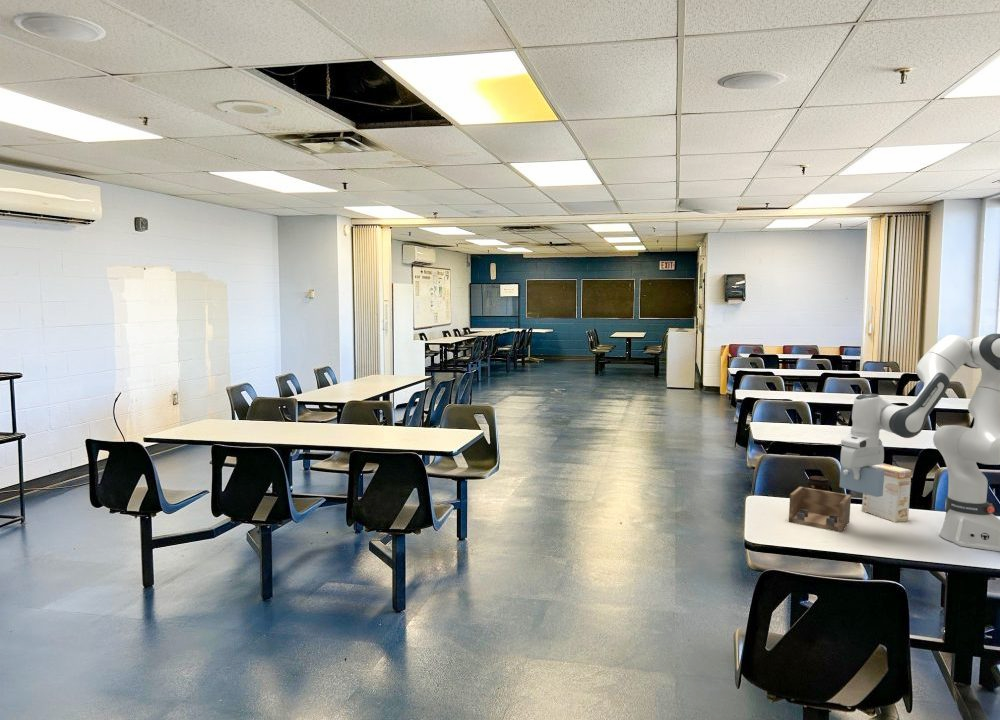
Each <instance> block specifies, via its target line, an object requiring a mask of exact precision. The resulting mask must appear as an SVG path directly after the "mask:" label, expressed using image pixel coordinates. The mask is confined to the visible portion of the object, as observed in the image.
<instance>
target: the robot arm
mask: <svg viewBox="0 0 1000 720" xmlns="http://www.w3.org/2000/svg"><path fill="white" fill-rule="evenodd" d="M963 366H965V367H966V368H970V369H980V371H981V375H980V380H979V382H978V384H977V386H976V388H975V389H974V392H973V395H972V396H971V399H970V400H969V403H968V405H967V410H968V412H969V414H970V415H971V417H973V418H974V419H973V426H972V427H969V426H968V427H966V426H964V425H963V426H962V425H956V424H950V425H949V424H948V425H947V424H945V425H942V426H939V427H938V428H937V429H935V431H934V434H933V437H932V438H933V439H932V440H933V442H932V443H933V445H934V447H935V448H936V449H937V450H938V451H939V453H940V454H941V456H942V457H943V460H944V463H945V466H946V469H947V473H948V474H947V476H948V485H947V486H948V487H947V489H948V490H947V492H948V493H947V496H946V498H945V503H944V504H945V505H944V509H945V516H944V520H943V525H942V527H941V529H940V532H939V536H940V537H941V538H942V539H944V540H946V541H949V542H951V543H954V544H956V545H958V546H961V547H966V548H973V549H981V550H985V551H994V552H1000V519H999V518H998V517H997V516H996V515H995V514H993V513H995V507H994V505H993V503H989V501H987V498H988V497H987V495H988V485H989V484H988V479H987V477H986V476H985V474H984V473H983V472H982V471H981V470H980V469H979V466H978V465H977V463H979V464H982V465H994V466H995V465H996V466H997V465H998V466H999V465H1000V333H991V334H984V335H979V336H977V337H974V338H970V339H966V338H965V337H963V336H961V335H958V334H947V335H945V336H944V337H943V338H941V339H940V340H939V341H937V342H936V343H935V344H933V346H931V348H929V349H928V351H927V352H926V353H925V354H923V356H922V357H921V358H920V359H919V361H918V362H917V365H916V367H915V370H916V374H917V377H918V378H919V379H920V380H921V382H923V388H922V389H921V390H920V392H919V393H918V394H917V396H916V397H915V398H914V400H913V401H912V402H911V404H909V405H907V406H901V405H897V404H894V403H891V402H889V401H888V400H886V399H883V398H882V397H881V396H880V395H879V394H877V393H862V394H859V395H857V396H856V397H855V398H854V401H853V405H852V410H851V421H852V425H851V428H850V433H849V434H848V435H846V436H844V437H843V438H842V439H841V440H840V443H841V450H840V467H841V466H842V467H844V468H848V469H852V470H853V473H854V479H856V480H859V479H861V475H860V472H859V470H860V467H866V466H868V467H872V466H873V465H879V464H882V463H884V461H885V449H884V445H883V441H882V440H881V438H880V431H881V430H883V431H885V432H888V433H892V434H895V435H896V436H899V437H900V438H901V437H902V438H904V439H911V438H915V437H916V436H918V435H919V434H920V433H921V432H922V431H923V429H924V427H925V424H926V422H927V419H928V417H929V416H930V414H931V413H932V412H933V410H934V409H935V407H936V406H937V405H938V404H939V402H940V400H941V399H942V397H943V396H944V394H946V392H947V391H948V388H949V387H950V381H951V379H952V378H953V376H954V375H955V374H956V373H957V372H958V371H959V369H960V368H961V367H963Z"/></svg>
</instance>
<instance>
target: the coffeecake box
mask: <svg viewBox="0 0 1000 720" xmlns="http://www.w3.org/2000/svg"><path fill="white" fill-rule="evenodd" d="M872 468H877V469H881V470H885V473H884V485H883V496H880V497H875V496H872V495H868V494H864V493H862V500H861V501H862V502H861V511H862V510H864V511H866V512H869V513H871V514H870V515H872V514H874V515H873V516H875V515H877V516H876V517H878V516H879V518H881V517H883V518H882V519H884V518H885V520H887V519H889V520H888V521H890V520H891V521H890V522H893V521H895V522H894V523H899V522H898V521H901V522H907V521H906V520H908V521H909V512H910V498H911V496H910V495H911V485H912V484H911V481H912V480H911V479H912V470H911V469H908V468H904V467H900V466H896V465H891V464H887V463H884V462H883V463H882V464H879V465H873V466H872ZM866 512H865V513H866ZM869 513H868V514H869Z"/></svg>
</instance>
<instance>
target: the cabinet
mask: <svg viewBox="0 0 1000 720" xmlns="http://www.w3.org/2000/svg"><path fill="white" fill-rule="evenodd" d="M851 499H852V494H848V493H847V494H846V493H840V492H833V491H830V490H829V491H823V490H817V489H811V488H808V487H804V486H798V487H797V488H796V489H795V490H793V491H792V492H791V493H789V505H788V506H789V509H788V510H789V511H788V523H793V524H798V525H802V526H808V527H813V528H819V529H823V530H828V529H829V530H828V531H833V530H834V531H833V532H838V531H840V532H839V533H842V532H843V531H844V530H845V529H846V528H847V526H848V525H849V524H850V517H851V516H850V515H851ZM848 523H849V524H848ZM847 524H848V525H847ZM845 527H846V528H845ZM844 528H845V529H844Z"/></svg>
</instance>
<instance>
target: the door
mask: <svg viewBox="0 0 1000 720" xmlns="http://www.w3.org/2000/svg"><path fill="white" fill-rule="evenodd" d="M859 472H860V475H861V479H859V480H856V479H854V473H853V470H852V469H848V468H844V467H842V466H841V465H840V475H839V488H842V489H845V490H850V491H852V492H853V491H854V492H857V493H860V494H863V493H864V494H868V495H872V496H875V497H880V496H883V485H884V473H885V470H881V469H877V468H872V467H868V466H866V467H860V470H859Z"/></svg>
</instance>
